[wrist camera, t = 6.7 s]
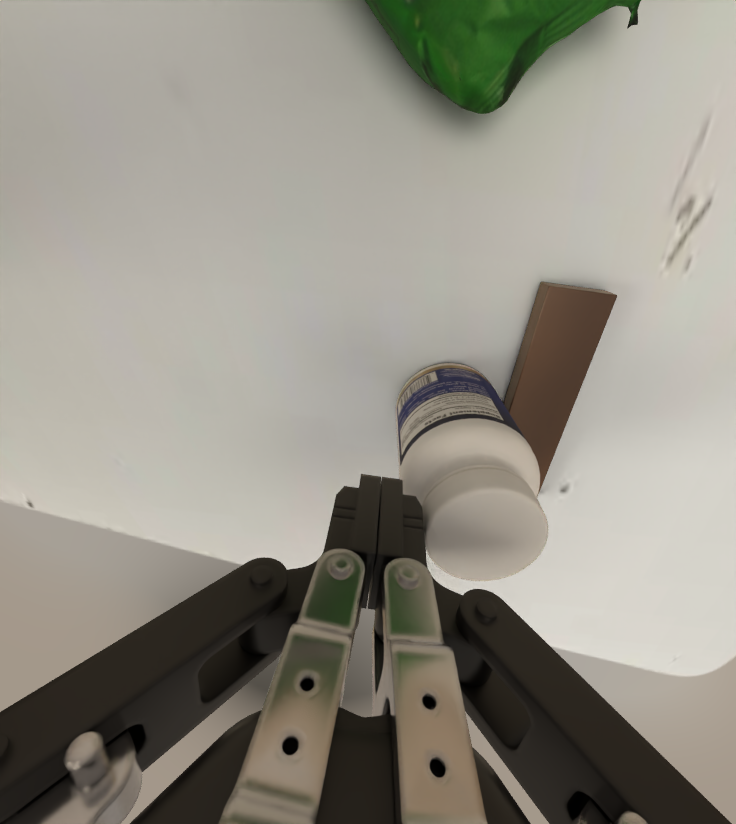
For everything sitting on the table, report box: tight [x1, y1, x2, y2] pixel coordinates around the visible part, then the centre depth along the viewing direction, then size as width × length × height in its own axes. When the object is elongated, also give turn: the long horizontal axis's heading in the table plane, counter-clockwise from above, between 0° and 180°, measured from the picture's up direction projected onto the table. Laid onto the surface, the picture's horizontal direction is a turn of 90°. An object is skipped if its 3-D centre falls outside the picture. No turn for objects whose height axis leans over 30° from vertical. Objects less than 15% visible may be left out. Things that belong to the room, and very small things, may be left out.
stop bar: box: [504, 282, 617, 496], centre depth 21 cm, size 3×12×1 cm, turn 173°
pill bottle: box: [396, 363, 548, 581], centre depth 17 cm, size 5×5×10 cm
